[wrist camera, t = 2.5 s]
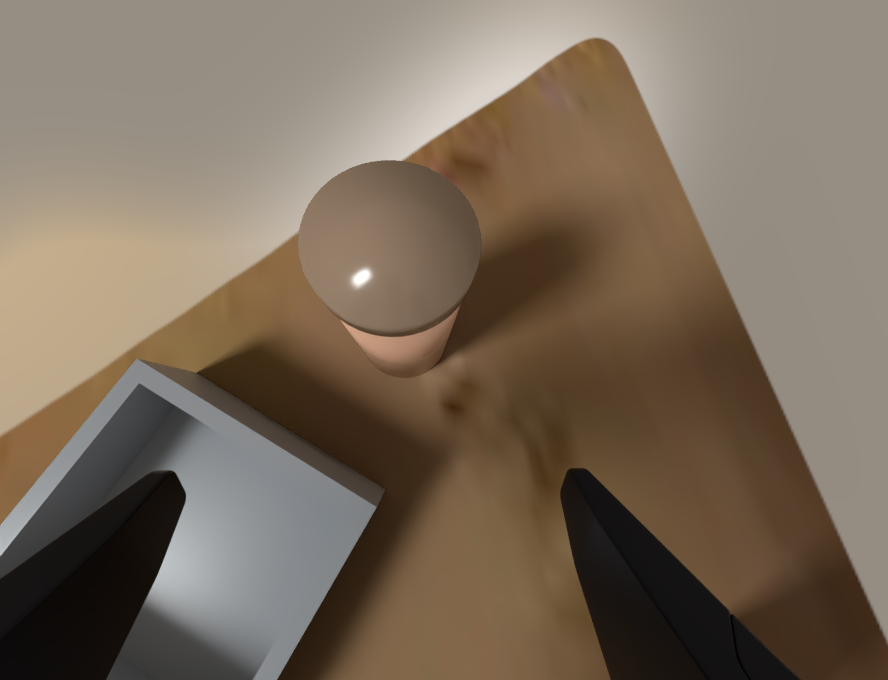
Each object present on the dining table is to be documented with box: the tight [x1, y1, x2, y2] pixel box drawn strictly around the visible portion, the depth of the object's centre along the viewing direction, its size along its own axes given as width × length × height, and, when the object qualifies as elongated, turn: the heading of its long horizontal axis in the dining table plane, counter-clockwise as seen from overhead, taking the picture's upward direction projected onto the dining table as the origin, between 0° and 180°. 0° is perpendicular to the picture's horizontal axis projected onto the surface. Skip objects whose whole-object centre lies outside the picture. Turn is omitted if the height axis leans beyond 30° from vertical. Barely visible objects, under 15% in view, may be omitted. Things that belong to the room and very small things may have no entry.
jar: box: [298, 160, 481, 378], centre depth 16 cm, size 5×5×12 cm
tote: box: [0, 359, 386, 680], centre depth 17 cm, size 13×13×4 cm
